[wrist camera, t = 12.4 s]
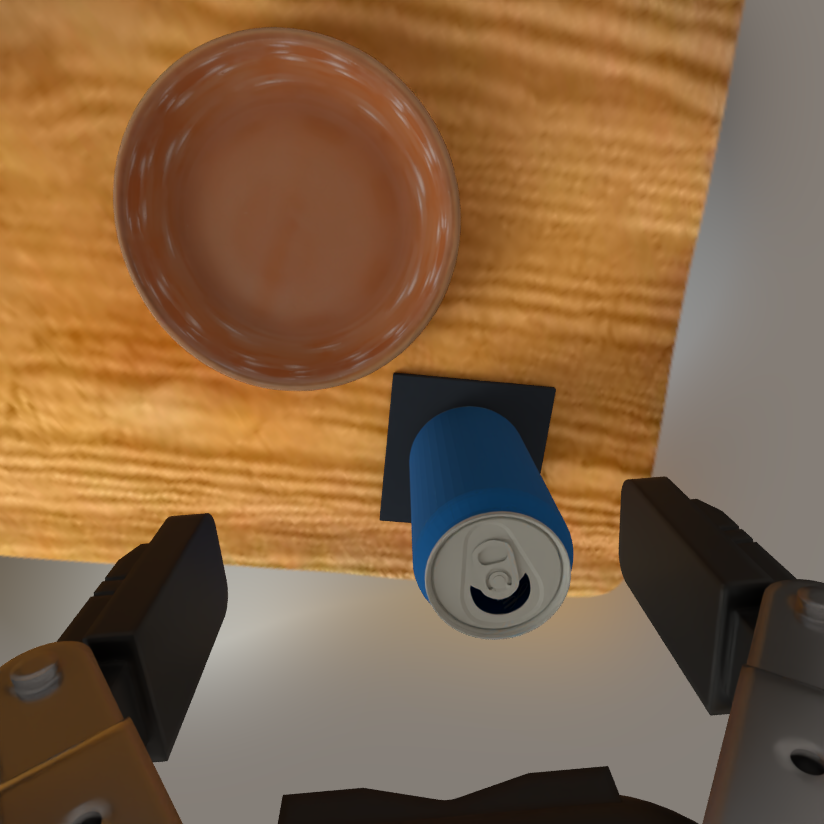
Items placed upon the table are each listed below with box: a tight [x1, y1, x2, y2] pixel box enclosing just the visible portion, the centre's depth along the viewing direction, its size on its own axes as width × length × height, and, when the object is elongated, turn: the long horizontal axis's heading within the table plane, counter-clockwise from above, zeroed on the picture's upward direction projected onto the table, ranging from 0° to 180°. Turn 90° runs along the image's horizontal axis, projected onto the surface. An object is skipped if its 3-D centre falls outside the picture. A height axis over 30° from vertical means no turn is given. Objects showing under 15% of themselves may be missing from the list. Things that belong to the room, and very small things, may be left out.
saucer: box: [113, 27, 461, 391], centre depth 29 cm, size 16×16×3 cm
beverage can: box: [409, 406, 573, 640], centre depth 29 cm, size 6×6×12 cm
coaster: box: [380, 373, 556, 523], centre depth 35 cm, size 9×9×1 cm
